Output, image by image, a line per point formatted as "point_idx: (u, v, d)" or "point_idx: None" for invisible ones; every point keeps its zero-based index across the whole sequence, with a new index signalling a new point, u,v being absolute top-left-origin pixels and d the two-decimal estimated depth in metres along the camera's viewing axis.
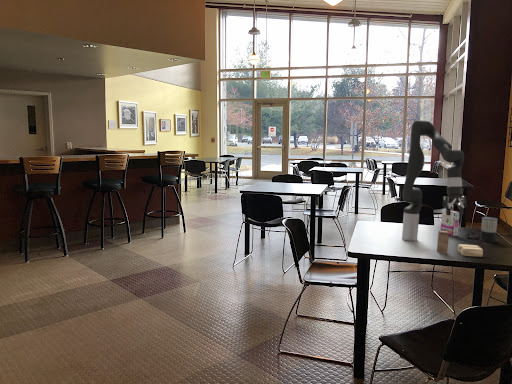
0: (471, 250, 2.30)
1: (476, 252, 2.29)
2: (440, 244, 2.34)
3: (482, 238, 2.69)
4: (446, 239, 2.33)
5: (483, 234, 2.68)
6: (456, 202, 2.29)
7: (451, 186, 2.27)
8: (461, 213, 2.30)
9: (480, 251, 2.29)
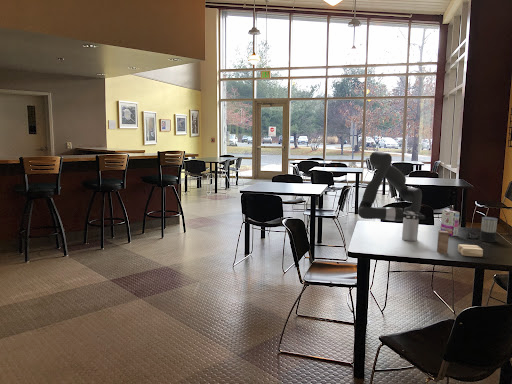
0: (471, 250, 2.30)
1: (476, 252, 2.29)
2: (440, 244, 2.34)
3: (482, 238, 2.69)
4: (446, 239, 2.33)
5: (483, 234, 2.68)
6: None
7: None
8: None
9: (480, 251, 2.29)
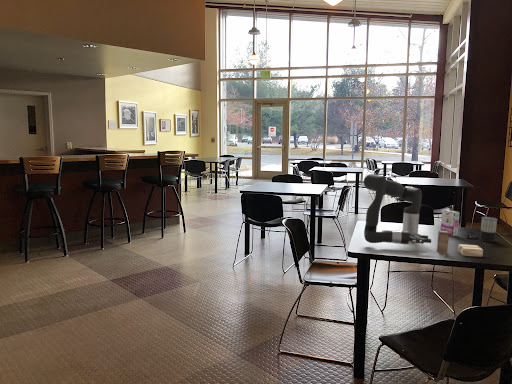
0: (471, 250, 2.30)
1: (476, 252, 2.29)
2: (440, 244, 2.34)
3: (482, 238, 2.69)
4: (446, 239, 2.33)
5: (483, 234, 2.68)
6: None
7: None
8: None
9: (480, 251, 2.29)
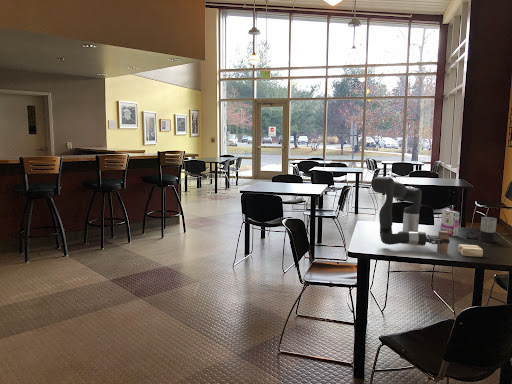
0: (471, 250, 2.30)
1: (476, 252, 2.29)
2: (440, 244, 2.34)
3: (481, 238, 2.69)
4: None
5: (482, 234, 2.68)
6: None
7: None
8: None
9: (480, 251, 2.29)
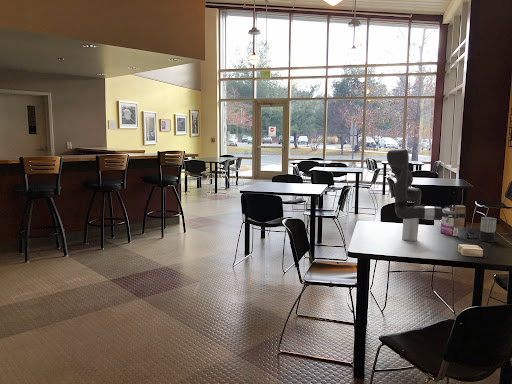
0: (471, 250, 2.30)
1: (476, 252, 2.29)
2: (456, 218, 2.31)
3: (481, 238, 2.69)
4: (463, 213, 2.30)
5: (482, 234, 2.68)
6: None
7: None
8: None
9: (480, 251, 2.29)
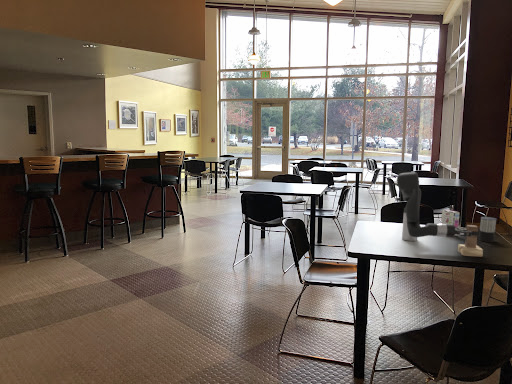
0: (471, 250, 2.30)
1: (476, 252, 2.29)
2: (469, 238, 2.32)
3: (481, 238, 2.69)
4: None
5: (482, 234, 2.68)
6: None
7: None
8: None
9: (480, 251, 2.29)
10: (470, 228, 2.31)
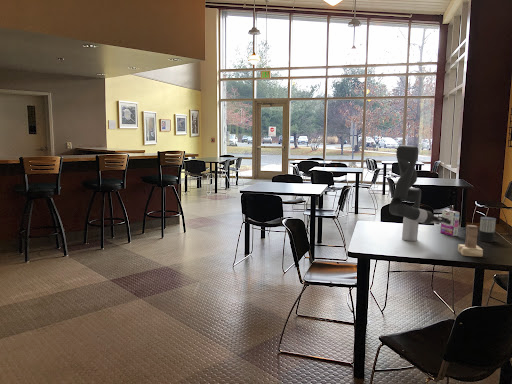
0: (471, 250, 2.30)
1: (476, 252, 2.29)
2: (469, 238, 2.32)
3: (480, 238, 2.69)
4: (475, 233, 2.31)
5: (481, 234, 2.68)
6: None
7: None
8: None
9: (480, 251, 2.29)
10: (470, 228, 2.31)
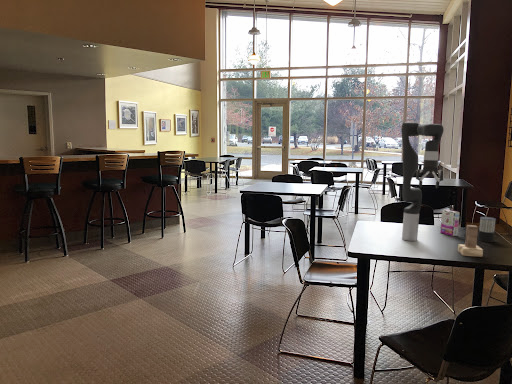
0: (471, 250, 2.30)
1: (476, 252, 2.29)
2: (469, 238, 2.32)
3: (480, 238, 2.69)
4: (475, 233, 2.31)
5: (481, 234, 2.68)
6: (430, 175, 2.36)
7: (425, 159, 2.35)
8: (436, 186, 2.36)
9: (480, 251, 2.29)
10: (470, 228, 2.31)
